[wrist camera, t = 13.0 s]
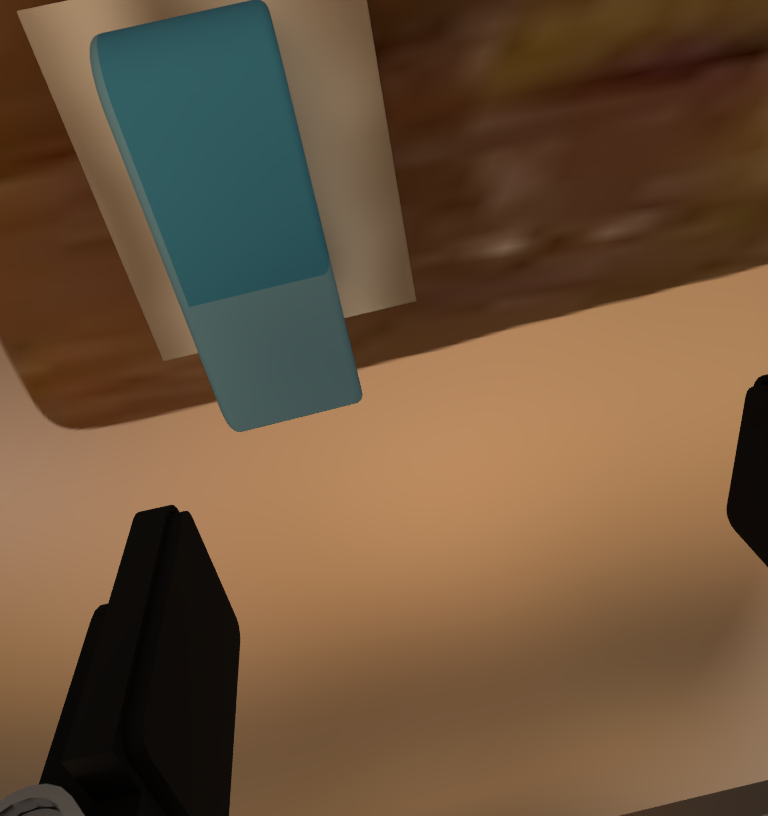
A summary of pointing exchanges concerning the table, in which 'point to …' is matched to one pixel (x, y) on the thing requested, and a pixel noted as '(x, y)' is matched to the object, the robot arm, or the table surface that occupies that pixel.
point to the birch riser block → (318, 126)
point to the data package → (231, 207)
